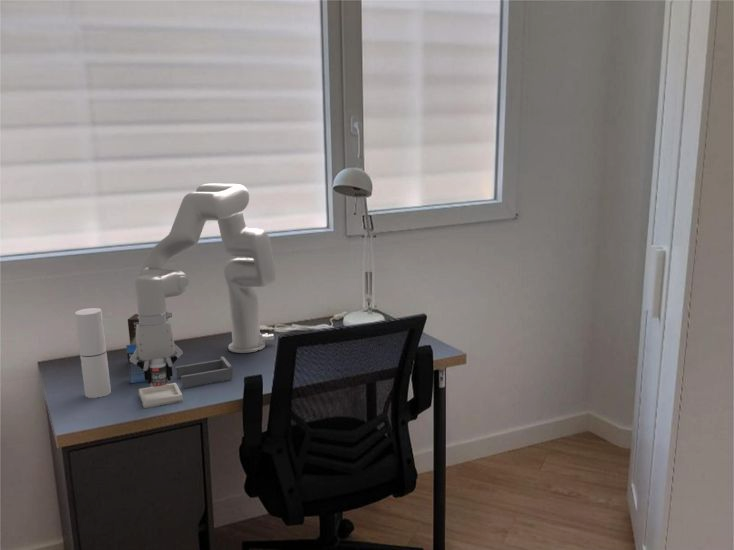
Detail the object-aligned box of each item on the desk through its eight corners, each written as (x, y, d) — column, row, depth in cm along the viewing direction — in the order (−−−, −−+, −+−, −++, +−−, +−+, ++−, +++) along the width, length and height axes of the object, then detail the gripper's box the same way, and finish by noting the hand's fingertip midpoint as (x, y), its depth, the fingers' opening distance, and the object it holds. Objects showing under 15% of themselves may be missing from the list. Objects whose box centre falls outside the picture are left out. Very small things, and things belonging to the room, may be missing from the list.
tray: (176, 388, 211) (175, 382, 210) (182, 401, 201) (182, 394, 201) (139, 395, 206) (138, 389, 206) (144, 408, 197) (143, 401, 197)
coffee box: (131, 366, 231) (125, 319, 228) (139, 360, 237) (134, 313, 234) (158, 367, 230) (153, 319, 227) (165, 360, 236) (161, 313, 233)
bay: (224, 369, 226) (223, 356, 225) (232, 379, 217) (231, 366, 216) (176, 377, 220) (175, 364, 219) (182, 388, 211) (181, 374, 210)
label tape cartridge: (159, 375, 222) (156, 337, 220) (160, 379, 219) (156, 341, 216) (130, 379, 220) (125, 341, 217) (130, 384, 216) (125, 345, 213)
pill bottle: (152, 389, 200) (149, 360, 198) (149, 383, 204) (146, 356, 202) (169, 385, 202) (166, 357, 200) (166, 380, 206) (163, 353, 204)
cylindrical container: (95, 399, 204) (85, 315, 199) (79, 395, 208) (69, 312, 203) (116, 391, 210) (106, 309, 205) (100, 387, 214) (90, 306, 208)
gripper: (181, 311, 205) (186, 371, 209) (119, 320, 199) (126, 381, 203) (186, 318, 199) (191, 379, 203) (122, 326, 192) (129, 390, 196)
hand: (158, 380), depth 203 cm, fingers closed on pill bottle, 4 cm apart
